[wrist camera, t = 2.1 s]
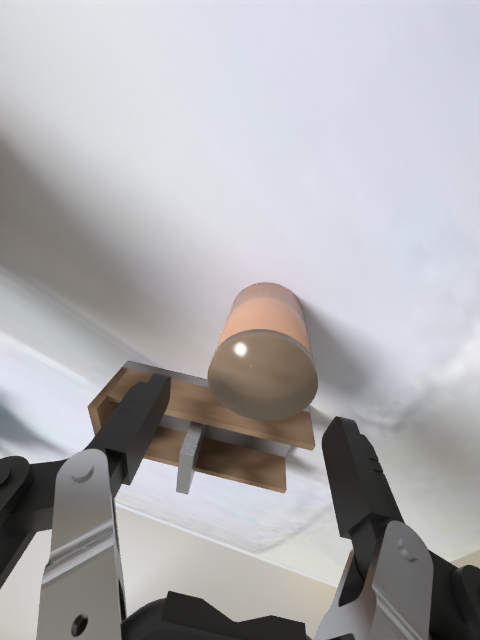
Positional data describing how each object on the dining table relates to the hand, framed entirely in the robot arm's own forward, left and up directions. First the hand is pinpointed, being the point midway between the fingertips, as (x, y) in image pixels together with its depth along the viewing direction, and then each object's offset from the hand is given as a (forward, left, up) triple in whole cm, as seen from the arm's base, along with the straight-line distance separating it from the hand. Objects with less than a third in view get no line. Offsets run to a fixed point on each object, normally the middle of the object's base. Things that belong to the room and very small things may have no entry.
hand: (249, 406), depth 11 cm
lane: (+2, +14, -10) cm, 17 cm away
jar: (-1, 0, -10) cm, 10 cm away
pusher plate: (+3, +14, -8) cm, 17 cm away
